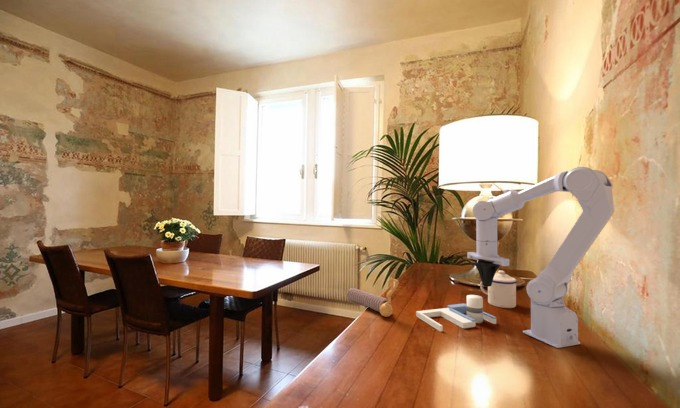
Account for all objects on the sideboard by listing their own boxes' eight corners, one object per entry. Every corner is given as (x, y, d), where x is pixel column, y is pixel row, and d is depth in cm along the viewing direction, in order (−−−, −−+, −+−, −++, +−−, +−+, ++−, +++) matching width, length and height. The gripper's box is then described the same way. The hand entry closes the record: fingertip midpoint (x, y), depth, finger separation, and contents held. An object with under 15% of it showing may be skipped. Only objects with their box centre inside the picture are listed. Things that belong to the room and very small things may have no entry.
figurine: (380, 311, 95) (380, 274, 95) (399, 312, 94) (399, 274, 94) (378, 320, 87) (377, 279, 87) (399, 322, 86) (398, 280, 86)
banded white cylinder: (485, 323, 85) (485, 299, 86) (469, 323, 86) (469, 299, 86) (479, 317, 90) (479, 294, 90) (463, 317, 90) (463, 294, 90)
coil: (392, 298, 94) (356, 287, 108) (382, 299, 91) (346, 287, 106) (391, 313, 94) (354, 299, 108) (381, 315, 91) (345, 300, 105)
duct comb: (496, 323, 85) (496, 316, 85) (440, 331, 80) (440, 323, 80) (466, 309, 97) (466, 303, 97) (415, 315, 91) (415, 308, 91)
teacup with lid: (521, 305, 102) (521, 271, 102) (510, 310, 97) (509, 274, 97) (486, 296, 112) (486, 266, 112) (474, 301, 106) (474, 269, 106)
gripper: (517, 243, 84) (518, 291, 84) (479, 238, 98) (479, 279, 97) (498, 243, 82) (498, 293, 81) (461, 238, 96) (462, 280, 95)
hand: (486, 285), depth 89 cm, fingers closed
